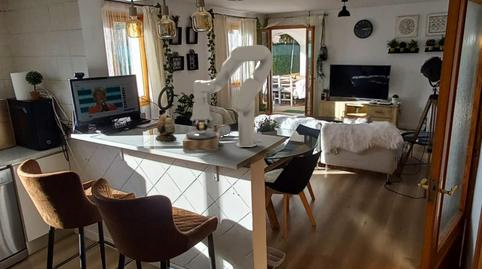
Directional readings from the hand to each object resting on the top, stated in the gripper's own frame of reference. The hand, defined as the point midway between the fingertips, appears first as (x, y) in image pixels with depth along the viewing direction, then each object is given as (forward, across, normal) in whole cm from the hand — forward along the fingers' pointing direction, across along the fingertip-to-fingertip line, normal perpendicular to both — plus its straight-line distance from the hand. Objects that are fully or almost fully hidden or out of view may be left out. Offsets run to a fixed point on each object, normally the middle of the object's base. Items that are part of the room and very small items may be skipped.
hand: (201, 130), depth 215 cm
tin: (+9, +12, +17) cm, 23 cm away
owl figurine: (+9, -25, +14) cm, 30 cm away
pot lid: (+2, 0, -7) cm, 7 cm away
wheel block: (+9, 0, -7) cm, 11 cm away
